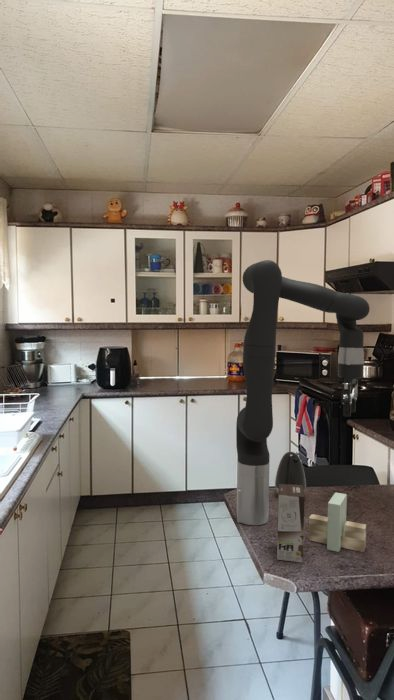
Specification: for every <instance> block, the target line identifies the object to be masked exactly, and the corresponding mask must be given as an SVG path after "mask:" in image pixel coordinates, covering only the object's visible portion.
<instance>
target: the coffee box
mask: <svg viewBox="0 0 394 700" xmlns="http://www.w3.org/2000/svg"><path fill="white" fill-rule="evenodd" d="M277 493H278V494H277V527H276V529H277V531H276V532H277V534H276V535H277V537H276V542H277V543H276V559H277V560H279V561H287V562H294V563H303V562H304V561H303V557H304V539H305V538H304V537H305V536H304V534H305V502H306V501H305V498H306V497H305V496H306V495H305V490H304V487H303V485H292V484H287V485H286V484H279V490H278V492H277Z"/></svg>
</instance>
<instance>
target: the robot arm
mask: <svg viewBox="0 0 394 700" xmlns="http://www.w3.org/2000/svg"><path fill="white" fill-rule="evenodd" d="M282 274H283V273H282V270H281V268H280V266H279V264H277V262H276V261H274V260H270V259H269V260H268V259H267V260H261V261H259V262H256V263H253V264H251V265H249V266H248V267H247V268H245V270H244V272H243V274H242V285H243V286H244V288H245V289H246V290H247V291H248V292H249V293H252V294H253V303H252V304H253V305H252V312H251V316H250V320H249V321H248V324H247V328H246V331H245V334H244V337H243V338H244V339H243V348H242V349H243V350H242V365H243V366H242V369H243V375H244V381H245V386H246V389H245V390H246V396H245V397H246V399H245V407H243V408H242V409H241V410H240V411H239V412H238V415H237V417H236V425H235V426H236V427H235V430H236V433H235V435H236V436H235V437H236V453H237V484H236V522H237V523H239V524H240V523H241V524H244V525H248V526H261V525H265V524H266V523H268V522H269V514H270V513H269V508H270V507H269V505H270V501H269V500H270V498H269V497H270V495H269V494H270V492H269V491H270V460H271V459H270V452H269V447H268V440H267V439H268V438H269V436H270V435H271V434H272V431H273V428H274V427H273V426H274V417H273V416H274V415H273V384H274V377H275V376H274V374H275V363H276V348H277V347H276V346H277V340H276V339H277V325H278V324H277V323H278V322H277V321H278V309H279V308H278V307H279V301H280V299H284V300H288V301H291V302H294V303H297V304H301V305H303V306H306V307H309V308H312V309H314V310H316V311H317V310H318V311H320V312H324V313H329V314H335V317H336V323H337V329H338V331H339V345H338V346H339V349H338V355H337V357H338V359H337V377H338V378H341V379H344V382H342V383H341V397H340V399H341V400H340V402H341V404H342V417H347V418H350V417H351V416H352V415H351V414H352V413H353V414H354V413H356V408H357V407H356V406H357V405H356V403H357V399H358V397H359V395H358V391H359V390H358V385H359V384H358V383H359V381H358V379H362V378H364V365H365V364H364V361H365V356H364V355H365V353H364V339H365V337H364V332H363V330H362V329H361V328H359V327H358V325H357V321H361V320H363V319H365V318H366V317H367V316H368V315H369V314H370V304H369V302H368V301H367V300H366V299H365V298H363V297H361V296H358V295H356V294H350V293H347V292H340V291H336V290H334V289H331V288H328V287H326V286H323V285H320V284H316V283H311V282H306V281H300V280H295V279H291V278H288V277H284V276H282Z"/></svg>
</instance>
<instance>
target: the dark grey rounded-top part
mask: <svg viewBox="0 0 394 700" xmlns="http://www.w3.org/2000/svg"><path fill="white" fill-rule="evenodd" d="M276 469H277V470H276V474H275V479H274V486H275V489H276V491H277V493H278V490H279V484H286V485H287V484H292V485H303V487H304V491H305V490H306V487H307V481H306V475H305V470H304V466H303V462H302V460H301V458H300V457H299V455H298V454H297V453H296V452H294V451H287V452H285V453H284V454H283V455H282V457H281V459H280V461H279V464H278V466H277V468H276Z"/></svg>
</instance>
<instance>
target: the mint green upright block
mask: <svg viewBox="0 0 394 700" xmlns="http://www.w3.org/2000/svg"><path fill="white" fill-rule="evenodd" d="M347 496H348V495H347V494H346V493H342V492H341V493H340V492H336V491H335V492H334V493H333V495H332V497H331V498H330V499H329V501H328V502H327V517H328V526H327V544H326V550H327V551H333V552H338V553H339V552H340V551H341V550H342V549H341V548H342V547H341V536H342V534H343V532H345V524H346V522H347V505H348V504H347V502H348V501H347V500H348V497H347Z"/></svg>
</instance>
